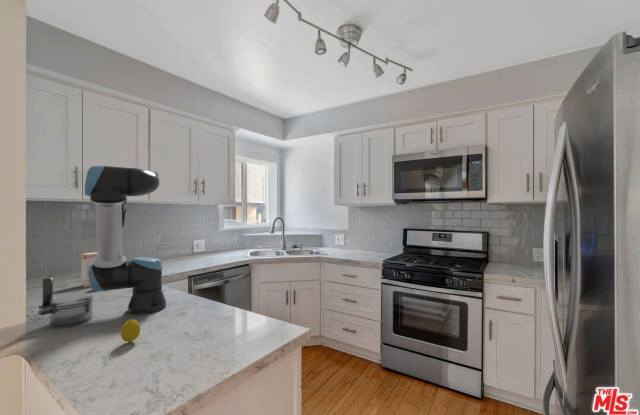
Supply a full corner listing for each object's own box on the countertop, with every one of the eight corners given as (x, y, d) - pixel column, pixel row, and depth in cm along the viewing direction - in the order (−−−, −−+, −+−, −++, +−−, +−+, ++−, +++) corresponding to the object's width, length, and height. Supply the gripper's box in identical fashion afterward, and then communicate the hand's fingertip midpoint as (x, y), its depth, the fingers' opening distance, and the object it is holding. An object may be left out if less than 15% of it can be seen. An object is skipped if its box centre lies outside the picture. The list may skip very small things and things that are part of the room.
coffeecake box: (110, 280, 184) (110, 250, 184) (114, 282, 180) (114, 251, 180) (81, 285, 172) (81, 253, 172) (84, 287, 168) (85, 254, 168)
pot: (83, 313, 125) (84, 295, 125) (99, 319, 118) (99, 299, 118) (32, 326, 110) (32, 306, 110) (46, 334, 104) (47, 312, 104)
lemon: (125, 348, 93) (125, 323, 93) (117, 343, 96) (117, 320, 96) (143, 341, 98) (143, 318, 98) (135, 337, 101) (135, 315, 101)
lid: (79, 294, 124) (79, 269, 124) (100, 298, 120) (100, 271, 120) (30, 307, 108) (30, 278, 109) (52, 311, 104) (52, 280, 104)
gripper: (116, 196, 160) (116, 238, 160) (103, 195, 147) (103, 241, 147) (131, 196, 161) (131, 238, 161) (120, 195, 149) (119, 240, 148)
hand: (118, 239), depth 154 cm, fingers closed
